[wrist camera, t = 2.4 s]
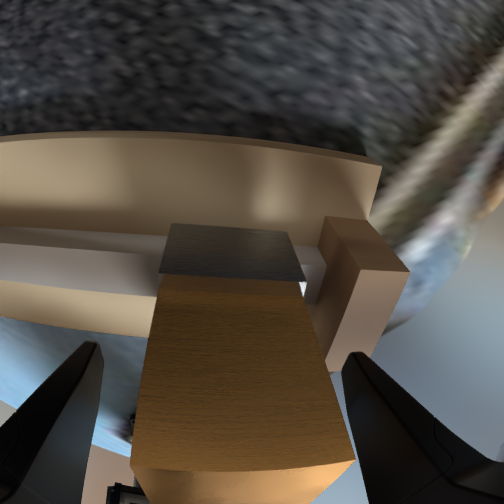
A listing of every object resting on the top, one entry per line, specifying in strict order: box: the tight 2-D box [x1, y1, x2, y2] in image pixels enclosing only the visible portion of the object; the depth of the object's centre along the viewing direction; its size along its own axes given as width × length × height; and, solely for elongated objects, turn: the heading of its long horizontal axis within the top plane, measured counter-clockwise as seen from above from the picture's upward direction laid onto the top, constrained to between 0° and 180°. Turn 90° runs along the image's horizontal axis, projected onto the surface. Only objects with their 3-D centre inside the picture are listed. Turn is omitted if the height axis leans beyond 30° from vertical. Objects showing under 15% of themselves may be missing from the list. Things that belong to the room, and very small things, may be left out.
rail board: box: [0, 130, 410, 372], centre depth 12 cm, size 10×24×6 cm, turn 82°
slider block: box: [130, 223, 356, 504], centre depth 9 cm, size 5×4×8 cm
